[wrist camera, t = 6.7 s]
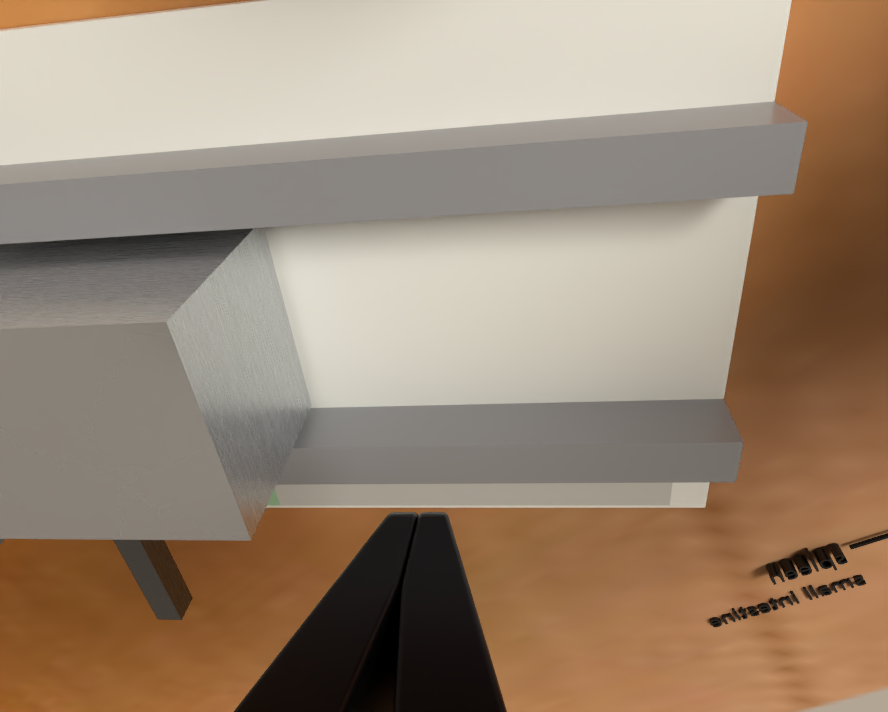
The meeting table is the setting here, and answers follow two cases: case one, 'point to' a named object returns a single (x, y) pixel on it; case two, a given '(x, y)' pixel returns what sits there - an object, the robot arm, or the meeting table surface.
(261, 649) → the meeting table surface
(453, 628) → the robot arm
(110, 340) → the brushed metal block
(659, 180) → the gauge bed
